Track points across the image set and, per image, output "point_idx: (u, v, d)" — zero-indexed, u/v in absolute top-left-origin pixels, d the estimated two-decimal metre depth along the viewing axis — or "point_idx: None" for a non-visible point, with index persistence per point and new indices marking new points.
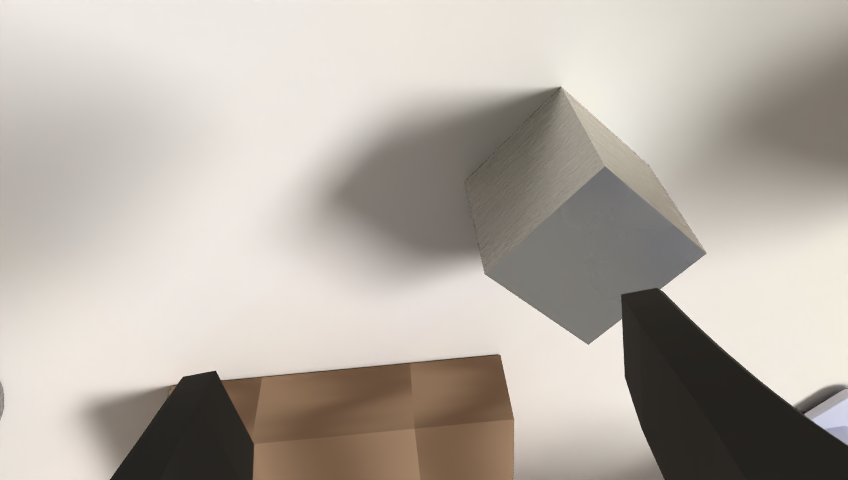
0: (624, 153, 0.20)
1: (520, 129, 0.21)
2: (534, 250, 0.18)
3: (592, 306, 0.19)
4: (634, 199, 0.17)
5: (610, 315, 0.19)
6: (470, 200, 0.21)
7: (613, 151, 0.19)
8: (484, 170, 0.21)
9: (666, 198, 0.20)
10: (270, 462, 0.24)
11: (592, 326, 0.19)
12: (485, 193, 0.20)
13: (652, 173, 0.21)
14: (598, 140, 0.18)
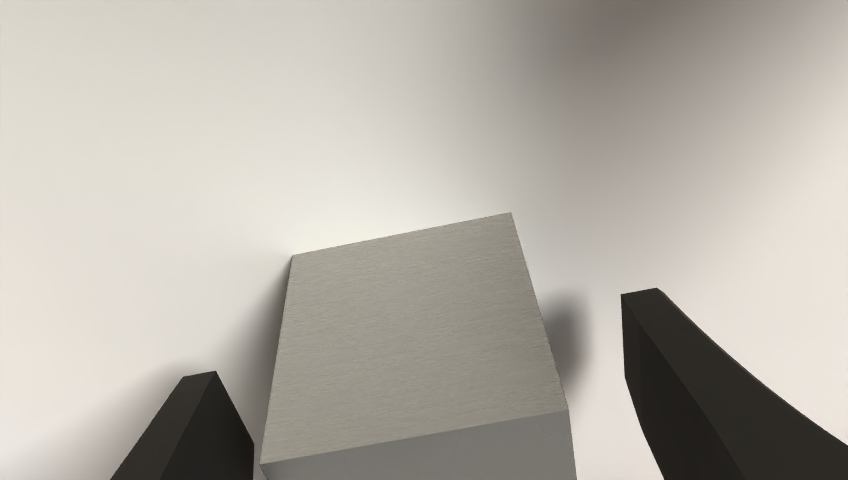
0: (414, 279, 0.12)
1: None
2: None
3: None
4: (357, 454, 0.09)
5: None
6: None
7: (361, 327, 0.11)
8: None
9: (507, 302, 0.11)
10: None
11: None
12: None
13: (505, 238, 0.12)
14: (315, 346, 0.11)
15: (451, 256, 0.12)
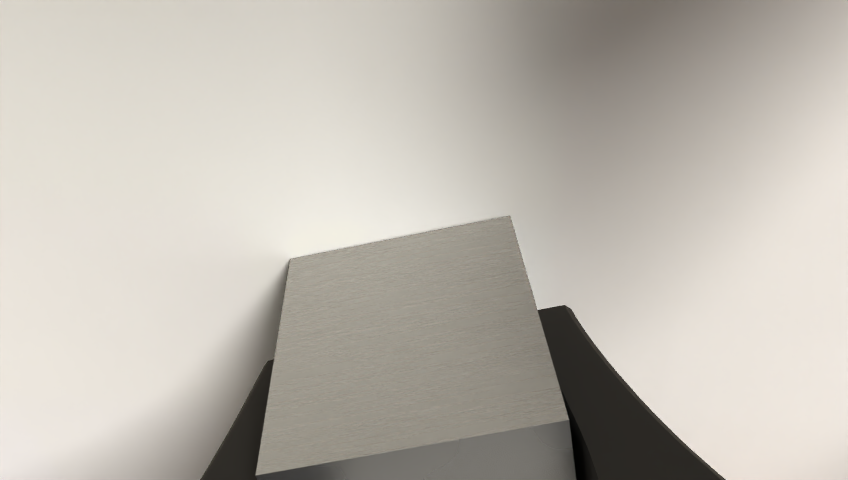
0: (412, 286, 0.11)
1: None
2: None
3: None
4: (354, 465, 0.09)
5: None
6: None
7: (359, 334, 0.11)
8: None
9: (507, 309, 0.11)
10: None
11: None
12: None
13: (505, 243, 0.12)
14: (312, 354, 0.11)
15: (450, 262, 0.12)
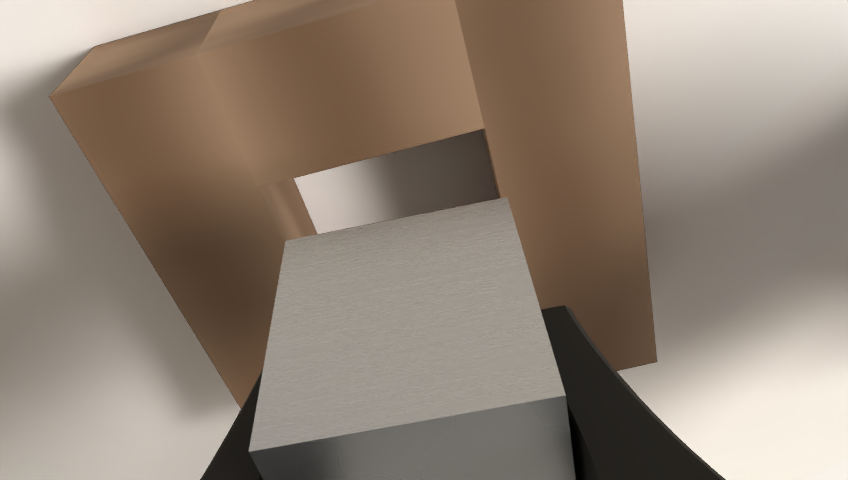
0: (408, 266, 0.11)
1: None
2: None
3: None
4: (348, 441, 0.09)
5: None
6: None
7: (354, 313, 0.11)
8: None
9: (503, 288, 0.10)
10: (235, 93, 0.15)
11: None
12: None
13: (502, 224, 0.12)
14: (307, 333, 0.10)
15: (446, 242, 0.12)
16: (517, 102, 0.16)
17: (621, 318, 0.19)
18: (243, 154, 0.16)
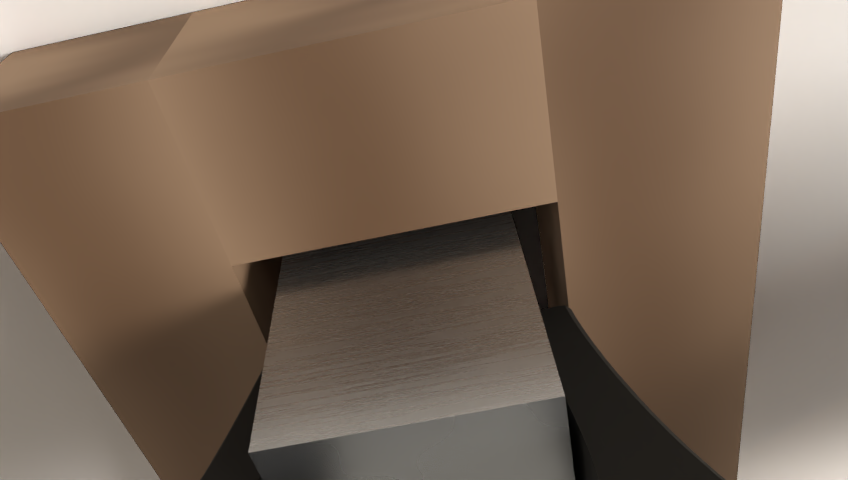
0: (408, 267, 0.11)
1: None
2: None
3: None
4: (348, 443, 0.09)
5: None
6: None
7: (354, 314, 0.11)
8: None
9: (503, 289, 0.10)
10: (205, 138, 0.10)
11: None
12: None
13: (501, 225, 0.12)
14: (306, 334, 0.10)
15: (446, 243, 0.12)
16: (607, 169, 0.11)
17: (701, 440, 0.15)
18: (213, 220, 0.11)
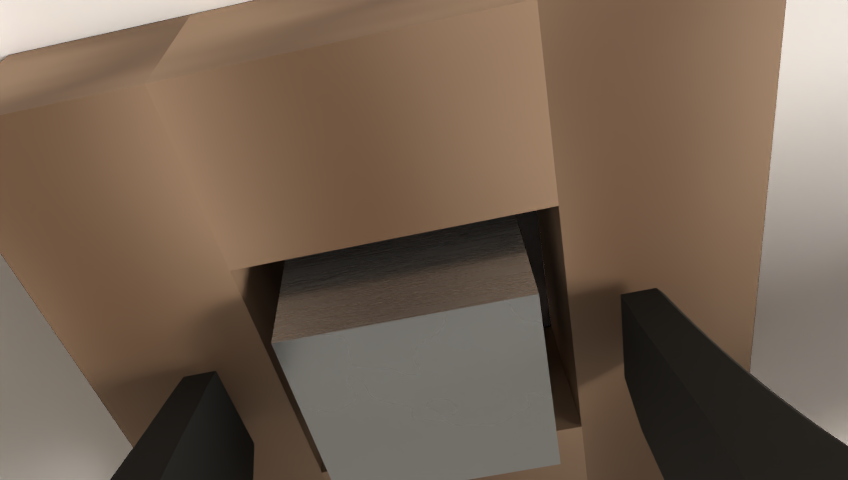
0: None
1: None
2: (347, 450, 0.12)
3: (499, 437, 0.12)
4: (355, 335, 0.10)
5: (536, 427, 0.12)
6: None
7: None
8: None
9: None
10: (203, 142, 0.10)
11: (533, 449, 0.12)
12: None
13: None
14: (319, 255, 0.12)
15: None
16: (609, 173, 0.11)
17: None
18: (211, 225, 0.11)
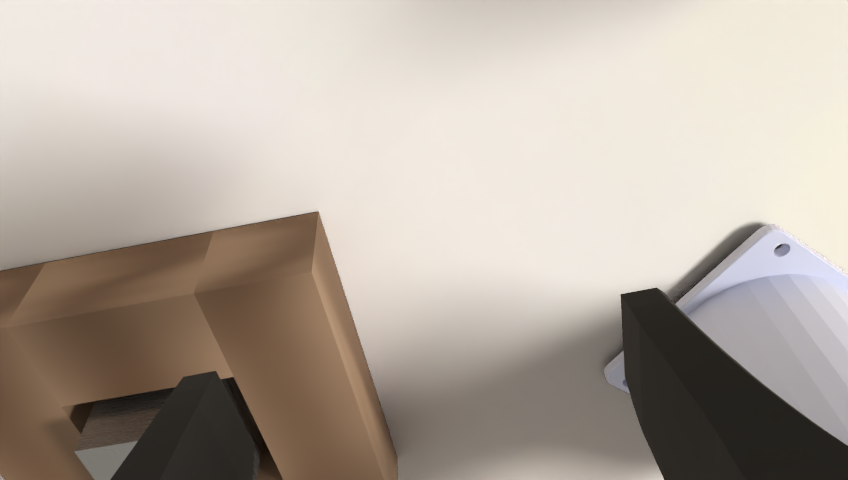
0: None
1: None
2: None
3: None
4: (117, 447, 0.20)
5: None
6: None
7: None
8: None
9: None
10: (38, 351, 0.20)
11: None
12: None
13: None
14: None
15: None
16: (256, 362, 0.21)
17: None
18: (48, 385, 0.21)
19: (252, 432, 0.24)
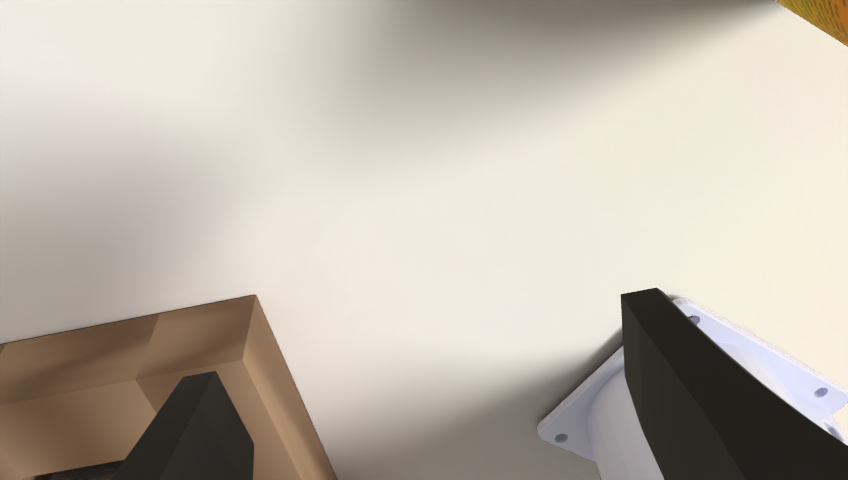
0: None
1: None
2: None
3: None
4: None
5: None
6: None
7: None
8: None
9: None
10: None
11: None
12: None
13: None
14: None
15: None
16: None
17: None
18: (8, 459, 0.23)
19: None
